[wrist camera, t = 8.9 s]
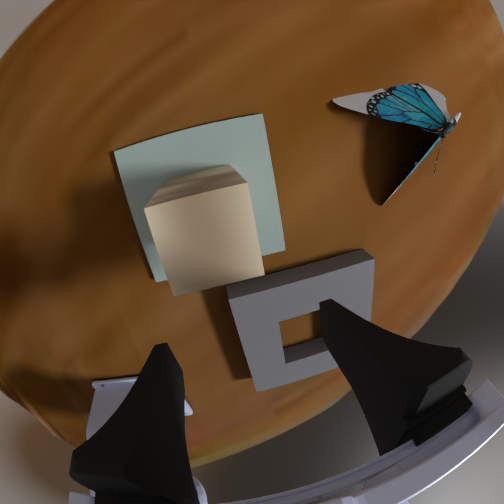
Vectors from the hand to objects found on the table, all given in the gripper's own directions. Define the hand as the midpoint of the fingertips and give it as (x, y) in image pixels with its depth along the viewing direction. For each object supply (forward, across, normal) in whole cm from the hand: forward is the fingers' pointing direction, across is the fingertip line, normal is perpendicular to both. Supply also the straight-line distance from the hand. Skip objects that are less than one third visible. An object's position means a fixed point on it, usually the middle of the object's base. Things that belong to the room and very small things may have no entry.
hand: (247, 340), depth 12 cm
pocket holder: (+9, -5, +9) cm, 14 cm away
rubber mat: (+9, +1, -4) cm, 10 cm away
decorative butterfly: (+10, -16, -7) cm, 21 cm away
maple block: (+9, +1, -4) cm, 10 cm away
